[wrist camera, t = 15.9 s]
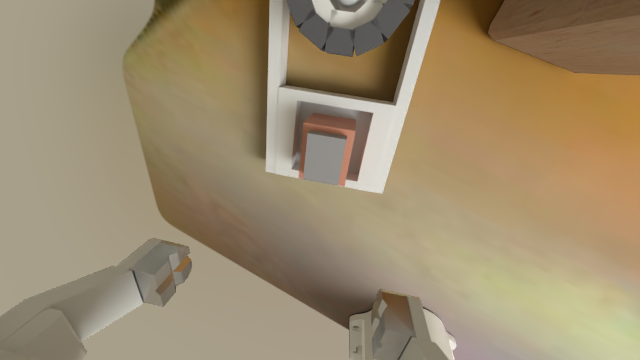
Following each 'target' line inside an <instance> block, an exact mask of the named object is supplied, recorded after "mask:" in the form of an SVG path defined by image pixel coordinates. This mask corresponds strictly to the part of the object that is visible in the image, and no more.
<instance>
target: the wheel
mask: <svg viewBox="0 0 640 360" xmlns="http://www.w3.org/2000/svg"><path fill="white" fill-rule="evenodd" d="M286 2H287V4H288V7H289V10H290V12H291V15H292V18H293V20H294V23H295V26H296V27H298V28H300V29H299V31H300V32H301V33H302V34H303V35H304V36H305V37H307V38H308V39H309V40H310V41H311V42H312V43H313V44H314V45H316V46H317V47H318V48H319V49H320V50H322V51H325V52H327V53H330V54H336V55H343V56H350V57H353V51H354V49H355V52H356V56H358V55H361V54H363V53H365V52H367V51H369V50H372V49H374V48H376V47H378V46H380V45H382V44H383V43H384V42H385V41H386V40H388V39H389V37H390V36H391V35H392V33H393V32H394V31H395V30H396V28H397V27H398V26H399V25H400V23H401V22H402V21H403V19H404V18H405V17H406V16H407V14H408V13H409V12H410V10H409V9H410V8H411V7H412V6H413V4H414V0H368V1H367V2H366V3H365V4H364V5H363V6H362V7H361V8H360V9H359V10H357V11H356V12H347V11H340V10H335V8H334V7H333V5H332V3H331V2H330V0H286Z"/></svg>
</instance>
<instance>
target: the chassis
mask: <svg viewBox="0 0 640 360" xmlns="http://www.w3.org/2000/svg"><path fill="white" fill-rule="evenodd" d="M367 1H368V0H330V2H331V3H332V5H333V7H334V8H335V10H340V11H347V12H356V11H357V10H359V9H360V8H361V7H362V6H363V5H364V4H365V3H366V2H367ZM439 4H440V0H420V2H419V6H418V9H417V13H416V17H415V21H414V24H413V28H412V32H411V36H410V39H409V43H408V47H407V50H406V54H405V58H404V62H403V65H402V69H401V73H400V77H399V80H398V84H397V88H396V91H395V95H394V99H393V102H389V101H383V100H377V99H370V98H364V97H358V96H351V95H345V94H339V93H333V92H326V91H320V90H314V89H307V88H301V87H295V86H288V85H286V72H287V55H288V37H289V20H290V10H289V7H288V4H287V2H286V0H270V8H269V51H268V95H267V139H266V172H270V173H275V174H279V175H284V176H290V177H295V178H299V167H300V156H301V145H302V134H303V124H304V122H305V120H306V119H307V118H308V117H309V116H310V115H311V114H312V113H318V114H324V115H330V116H337V117H343V118H349V119H355V120H356V132H355V137H354V142H353V147H352V152H351V157H350V162H349V167H348V172H347V177H346V182H345V186H343V187H348V188H353V189H359V190H364V191H369V192H377V193H383V189H384V186H385V183H386V179H387V176H388V173H389V170H390V166H391V163H392V160H393V156H394V153H395V150H396V146H397V143H398V140H399V136H400V133H401V130H402V126H403V123H404V120H405V116H406V113H407V110H408V107H409V103H410V100H411V97H412V93H413V90H414V87H415V83H416V80H417V77H418V73H419V70H420V67H421V63H422V60H423V57H424V53H425V50H426V47H427V44H428V40H429V37H430V34H431V30H432V27H433V24H434V20H435V17H436V14H437V10H438V7H439ZM300 179H301V178H300ZM338 186H339V185H338Z"/></svg>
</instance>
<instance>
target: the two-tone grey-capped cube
mask: <svg viewBox="0 0 640 360" xmlns="http://www.w3.org/2000/svg"><path fill="white" fill-rule="evenodd" d="M355 132H356V120H355V119H349V118H343V117H337V116H330V115H324V114H318V113H312V114H311V115H310V116H309V117H308V118H307V119H306V120H305V122H304V124H303V134H302V145H301V156H300V167H299V178H301V179H305V180H310V181H315V182H321V183H326V184H332V185H337V186H338V185H339V186H345V182H346V177H347V172H348V167H349V162H350V157H351V152H352V147H353V142H354V137H355Z"/></svg>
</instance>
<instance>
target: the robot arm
mask: <svg viewBox="0 0 640 360" xmlns="http://www.w3.org/2000/svg"><path fill="white" fill-rule="evenodd" d="M189 253H190V251H189V247H188V246H184V245H180V244H176V243H172V242H168V241H164V240H159V239H156V238H153V239H150V240H148V241H147V242H145V243H144V244H143V245H142V246H141V247H139V248H138V249H137V250H136V251H135V252H133V253H132V254H131V255H130V256H128V257H127V258H126V259H125V260H123V261H122V262H121V263H120V264H119V265H117V266H116V267H115V266H111V267H108V268H105V269H103V270H101V271H98V272H95V273H93V274H90V275H87V276H85V277H82V278H80V279H77V280H75V281H72V282H69V283H67V284H64V285H61V286H59V287H56V288H54V289H51V290H48V291H46V292H44V293H41V294H38V295H36V296H33V297H30V298H28V299H25V300H23V301H22V302H21V303H19V304H18V305H16V306H15V307H13V308H12V309H10V310H9V311H8V312H6V313H5V314H3V315H2V316H0V360H83V359H84V357H85V356H86V354H87V350H86V349H85V347H84V346H83V344H82V341H83V340H85V339H87V338H88V337H90V336H91V335H93V334H95V333H96V332H98V331H100V330H101V329H103V328H104V327H106V326H107V325H109V324H111V323H113V322H114V321H116V320H117V319H119V318H121V317H122V316H124V315H125V314H127V313H129V312H130V311H132V310H134V309H135V308H137V307H138V306H140V305H142V304H143V302H144V303H149V304H153V305H158V306H164V305H165V304H166V303H167V302H168V301H169V299H170V298H171V297H172V296H173V295H174V293H175V292H176V286H177V285H179V284H181V283H183V282H184V281H185V280H186V279H187V277H188V275H189V273H190V271H191V268H192V262H191V259H190V258H189V257H188V256H187V255H188V254H189ZM349 337H350V338H349V345H350V346H349V347H350V360H454V356H453V352H452V350H454V349H455V348H456V341H455V339H454V337H453V336H451V335H450V334H449V333H447V332H446V330H445V328H444V325H443V323H442V322H441V320H440V319H439V318H438V317H437V316H436V315H434V314H433V313H431V312H430V311H428V310H425V309H423V307H422V303H421V300H420V298H419V297H414V296H410V295H405V294H402V293H397V292H392V291H388V290H383V289H380V290H379V291H378V293H377V301H375V302H374V304H373V307H372V310H371V311H369V312H367V313H362V314H356V315H352V316H350V318H349Z"/></svg>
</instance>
